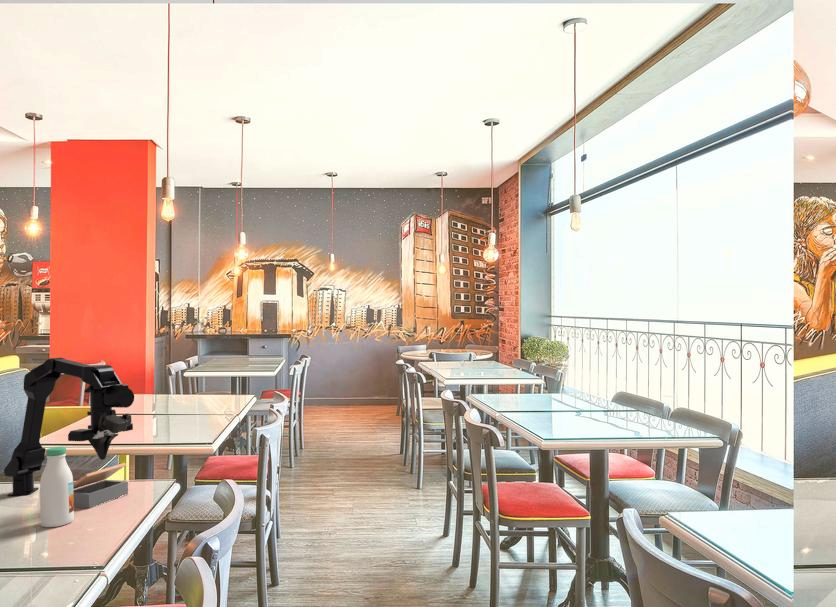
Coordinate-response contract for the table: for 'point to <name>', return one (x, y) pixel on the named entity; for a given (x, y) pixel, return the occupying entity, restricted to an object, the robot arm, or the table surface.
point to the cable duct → (99, 493)
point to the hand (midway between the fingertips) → (102, 459)
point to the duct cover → (97, 476)
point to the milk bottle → (56, 490)
